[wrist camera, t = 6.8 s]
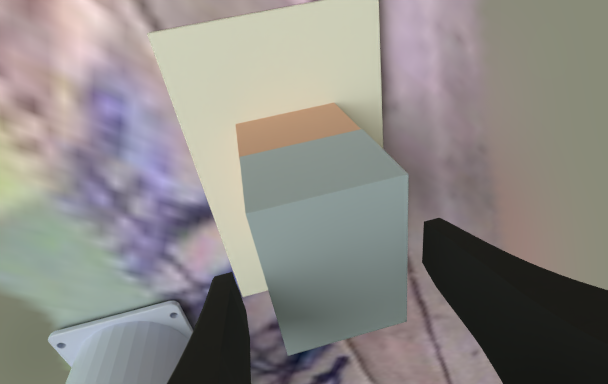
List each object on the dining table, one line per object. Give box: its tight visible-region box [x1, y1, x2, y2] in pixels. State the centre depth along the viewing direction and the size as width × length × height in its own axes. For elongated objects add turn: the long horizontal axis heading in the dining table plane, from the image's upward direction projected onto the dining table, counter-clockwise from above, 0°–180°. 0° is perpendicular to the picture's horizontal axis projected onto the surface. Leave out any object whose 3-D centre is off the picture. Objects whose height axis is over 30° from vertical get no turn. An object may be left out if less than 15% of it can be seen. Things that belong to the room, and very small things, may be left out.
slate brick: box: [239, 129, 408, 356], centre depth 14 cm, size 7×5×4 cm
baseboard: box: [147, 0, 383, 297], centre depth 19 cm, size 16×10×1 cm, turn 9°
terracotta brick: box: [236, 103, 360, 160], centre depth 17 cm, size 7×5×4 cm
